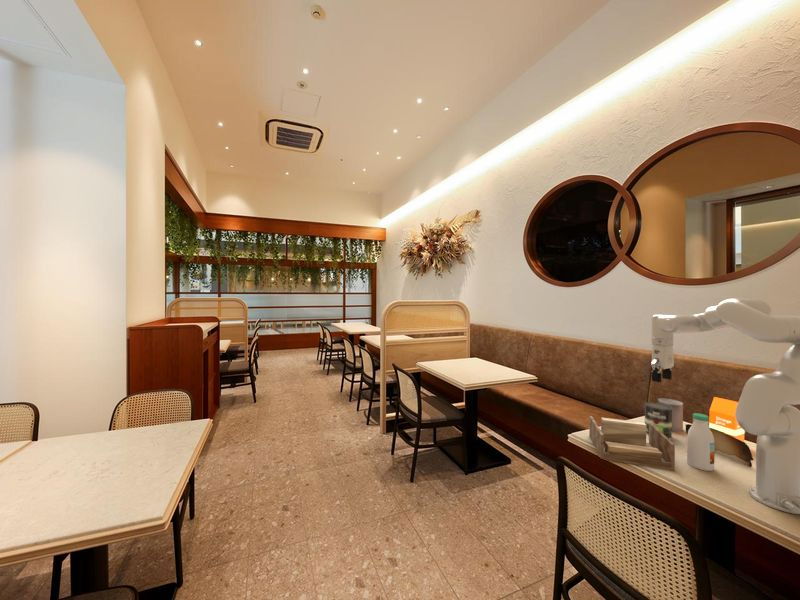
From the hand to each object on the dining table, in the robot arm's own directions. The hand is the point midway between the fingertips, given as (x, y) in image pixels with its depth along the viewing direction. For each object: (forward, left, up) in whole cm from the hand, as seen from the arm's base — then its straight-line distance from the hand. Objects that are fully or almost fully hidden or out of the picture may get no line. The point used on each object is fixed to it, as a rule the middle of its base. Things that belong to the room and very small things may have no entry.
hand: (661, 380), depth 141 cm
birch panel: (-9, +17, -28) cm, 33 cm away
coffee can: (+10, -2, -29) cm, 31 cm away
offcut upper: (-21, +17, -26) cm, 37 cm away
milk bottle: (-18, -6, -29) cm, 34 cm away
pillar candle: (+22, -11, -29) cm, 38 cm away
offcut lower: (-21, +17, -28) cm, 38 cm away
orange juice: (+10, -27, -29) cm, 41 cm away
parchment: (-2, -18, -29) cm, 34 cm away
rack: (-15, +17, -28) cm, 36 cm away
